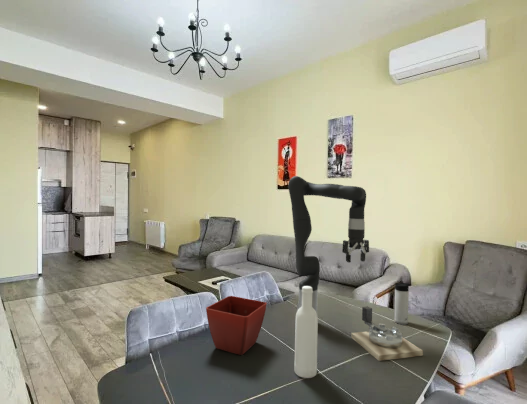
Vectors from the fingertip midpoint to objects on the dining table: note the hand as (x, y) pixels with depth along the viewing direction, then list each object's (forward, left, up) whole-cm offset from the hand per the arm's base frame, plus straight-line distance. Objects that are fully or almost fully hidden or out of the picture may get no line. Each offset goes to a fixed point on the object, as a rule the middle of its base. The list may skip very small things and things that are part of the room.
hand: (355, 261), depth 143 cm
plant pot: (-58, -6, -32) cm, 67 cm away
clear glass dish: (+3, -16, -30) cm, 34 cm away
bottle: (-37, -30, -32) cm, 58 cm away
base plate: (+4, -19, -32) cm, 37 cm away
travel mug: (+28, +2, -32) cm, 43 cm away
